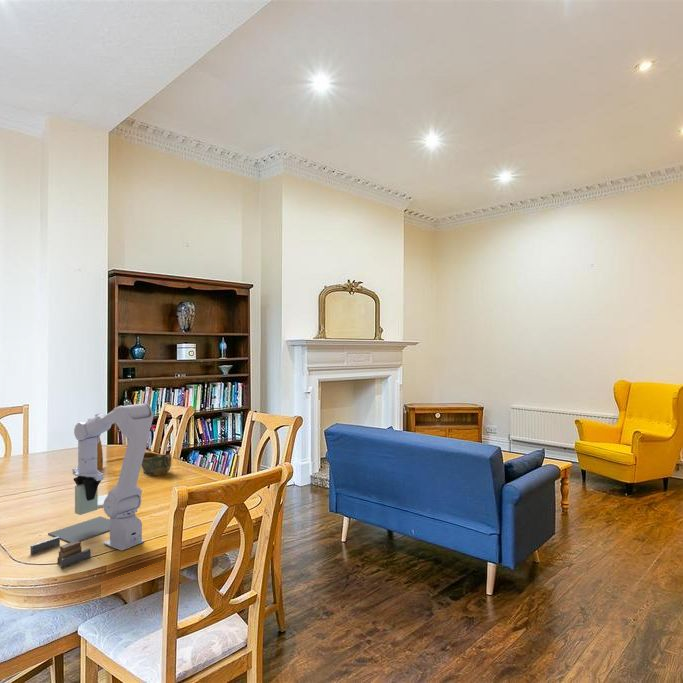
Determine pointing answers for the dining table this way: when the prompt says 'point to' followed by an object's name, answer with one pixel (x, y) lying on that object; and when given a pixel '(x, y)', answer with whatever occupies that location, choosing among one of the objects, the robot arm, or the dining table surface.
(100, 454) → the coffee package
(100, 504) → the hard drive
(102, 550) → the dining table surface
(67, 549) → the offcut stack
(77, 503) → the tall pastel pillar
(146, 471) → the dark green bowl
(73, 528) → the slate mat
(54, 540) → the offcut rack
